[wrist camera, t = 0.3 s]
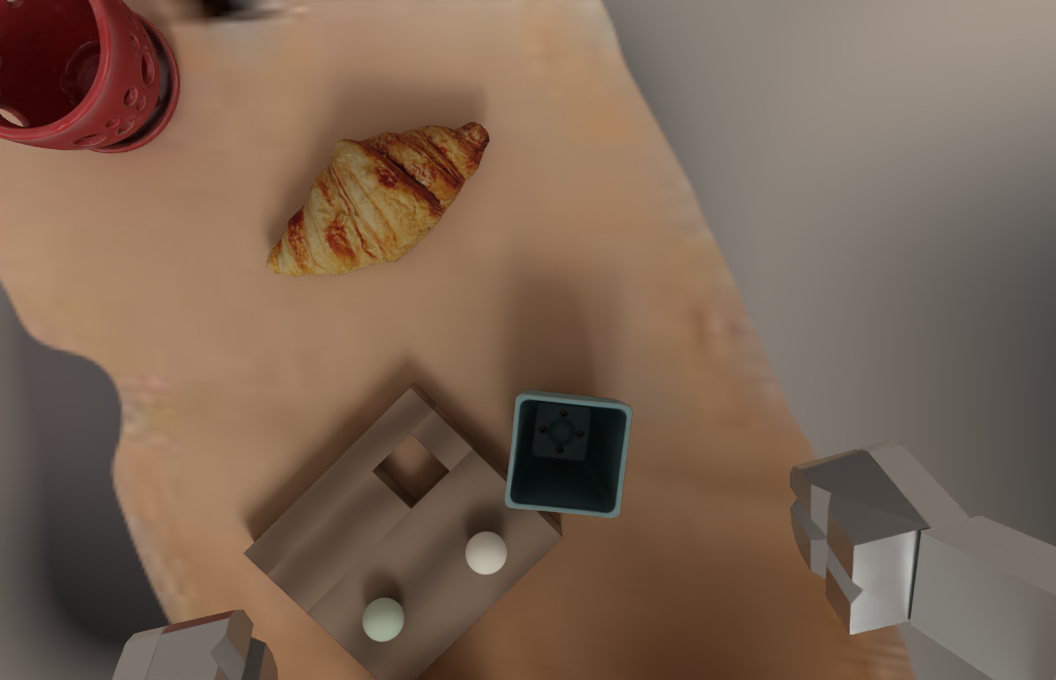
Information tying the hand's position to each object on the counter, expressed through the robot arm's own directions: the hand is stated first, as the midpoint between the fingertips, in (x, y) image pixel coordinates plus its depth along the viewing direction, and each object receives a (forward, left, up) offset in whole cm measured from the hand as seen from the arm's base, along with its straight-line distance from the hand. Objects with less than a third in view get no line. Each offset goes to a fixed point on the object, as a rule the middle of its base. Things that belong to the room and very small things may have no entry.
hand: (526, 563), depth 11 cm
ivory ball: (-11, +15, -49) cm, 52 cm away
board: (-6, +20, -53) cm, 57 cm away
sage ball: (-9, +25, -49) cm, 55 cm away
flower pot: (-9, +4, -53) cm, 54 cm away
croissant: (+16, +1, -53) cm, 56 cm away
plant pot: (+38, +10, -53) cm, 66 cm away
